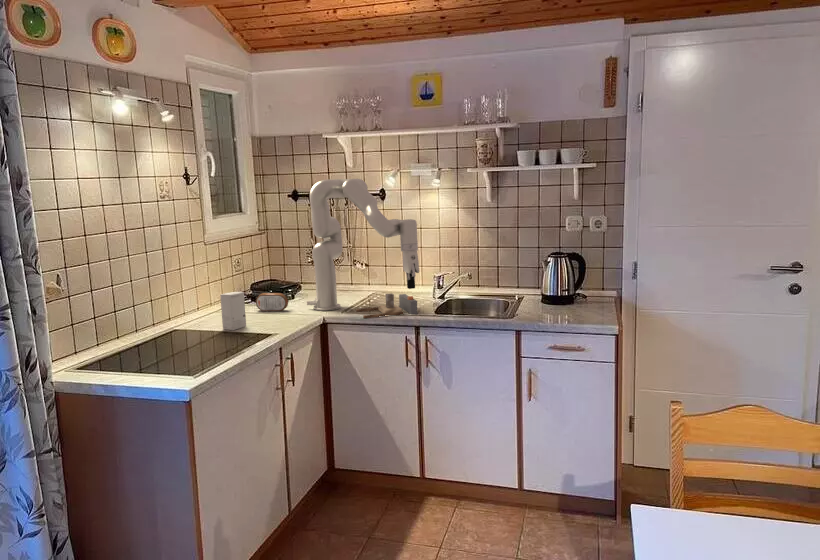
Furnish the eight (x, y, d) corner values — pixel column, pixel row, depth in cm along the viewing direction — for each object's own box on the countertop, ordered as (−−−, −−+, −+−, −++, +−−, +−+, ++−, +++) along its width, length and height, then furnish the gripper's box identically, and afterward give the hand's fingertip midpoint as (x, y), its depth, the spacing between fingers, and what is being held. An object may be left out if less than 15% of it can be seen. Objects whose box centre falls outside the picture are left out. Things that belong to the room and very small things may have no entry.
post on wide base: (384, 314, 280) (384, 297, 278) (378, 309, 290) (377, 292, 289) (402, 313, 282) (401, 295, 281) (395, 308, 292) (394, 291, 291)
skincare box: (232, 330, 259) (229, 295, 257) (222, 329, 262) (219, 294, 260) (247, 326, 266) (244, 291, 264) (236, 324, 269) (234, 290, 267)
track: (363, 318, 275) (363, 315, 275) (356, 311, 289) (356, 309, 289) (403, 314, 280) (403, 312, 280) (394, 308, 294) (394, 305, 294)
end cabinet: (410, 314, 279) (410, 301, 278) (399, 307, 296) (399, 294, 295) (417, 314, 280) (417, 300, 279) (405, 306, 297) (405, 293, 296)
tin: (288, 310, 297) (287, 292, 295) (287, 311, 294) (285, 293, 292) (257, 310, 298) (256, 292, 297) (255, 311, 295) (254, 294, 294)
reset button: (409, 304, 283) (408, 297, 282) (407, 303, 285) (407, 296, 284) (413, 303, 283) (413, 296, 283) (412, 302, 285) (411, 296, 285)
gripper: (422, 248, 274) (424, 290, 277) (412, 245, 288) (414, 285, 291) (406, 249, 272) (408, 291, 274) (396, 246, 286) (398, 286, 289)
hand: (411, 288), depth 283 cm, fingers closed
